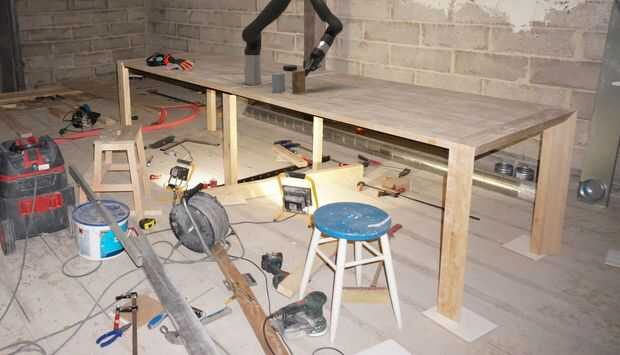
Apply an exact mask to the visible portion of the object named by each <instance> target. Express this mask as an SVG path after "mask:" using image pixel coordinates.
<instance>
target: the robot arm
mask: <svg viewBox="0 0 620 355" xmlns="http://www.w3.org/2000/svg"><path fill="white" fill-rule="evenodd" d="M291 1H292V0H270V1H269V2H268V3H267V5H266V6H265V7H264V8H263V9H262V10H261V11H260V13H259V14H258V15H257V16H256V18H254V20H252V21H251V22H250V23H249V24H248V25H247V26H246V27H245V28H244V29H243V30H242V31H241V32H242V33H241V38H242V41H244V42H245V43H246V44H245V45H246V46H245V48H244V50H243V51H244V67H243V72H244V73H243V74H244V84H245V83H246V84H245V85H247V84H248V86H249V85H250V86H258V85H261V84H262V70H261V68H262V67H261V65H262V64H261V50H262V32H263V31H264V29H266V28H267V27H268V26H269V25H271V24H272V23H273V22H275V21H276V20H277V19H279V17H281V15H282V14H284V12H285V11H286V10H287V8H288V7H289V5H290V3H291ZM309 2H310V3H311V6H312V8H313V10H314V12H315V14H316V15H317V16H318V18H319V19H320V21H321V22H323V23H327V28H326V29H325V31H324V33H323V35H322V36H321V37H320V40H319V41H318V42H317V43H316V44H315V46H314V47H313V49H312V50H311V52H310V54H309V57H308V58H307V59H306V60H305V59H304V60H302V67H303V69H304V70H303V71H305V78H307V77H308V76H309V74H310V73H314V72H315V71H316V70H318V69H319V68H321V67H322V64H321V62H323V60H324V59H325V57H326V56H327V55H328V52H329V51H330V48H331V47H332V45H333V43H334V42H335V41H334V40H335V39H336V37H337V36H338V35H339V34H340V33H341V32H342V31H343V29H344V25H343V23H342V22H341V20H340V19H339V18H338V17H337V16H336V15H335V14H334V13H333V12H332V11H331V9H330V8H329V7H328V5H327V3H326V2H325V1H324V0H309Z"/></svg>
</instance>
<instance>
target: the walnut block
mask: <svg viewBox="0 0 620 355" xmlns="http://www.w3.org/2000/svg"><path fill="white" fill-rule="evenodd" d="M291 89H292V90H291V94H295V95H302V94H303V95H305V94H306V77H305V71H304V70H300V69H297V70H296V71H292V88H291Z"/></svg>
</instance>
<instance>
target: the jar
mask: <svg viewBox="0 0 620 355" xmlns="http://www.w3.org/2000/svg"><path fill="white" fill-rule="evenodd" d="M282 68H283V69H282V73H285V89H292V71H296V70H298V65H294V64H287V65H286V64H285V65H283V66H282Z"/></svg>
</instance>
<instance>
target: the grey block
mask: <svg viewBox="0 0 620 355" xmlns="http://www.w3.org/2000/svg"><path fill="white" fill-rule="evenodd" d="M271 88H272V89H271V90H272V91H271V92H272V93H277V94H282V93H285V92H286V88H285V73H283V72H274V73H271Z"/></svg>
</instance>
